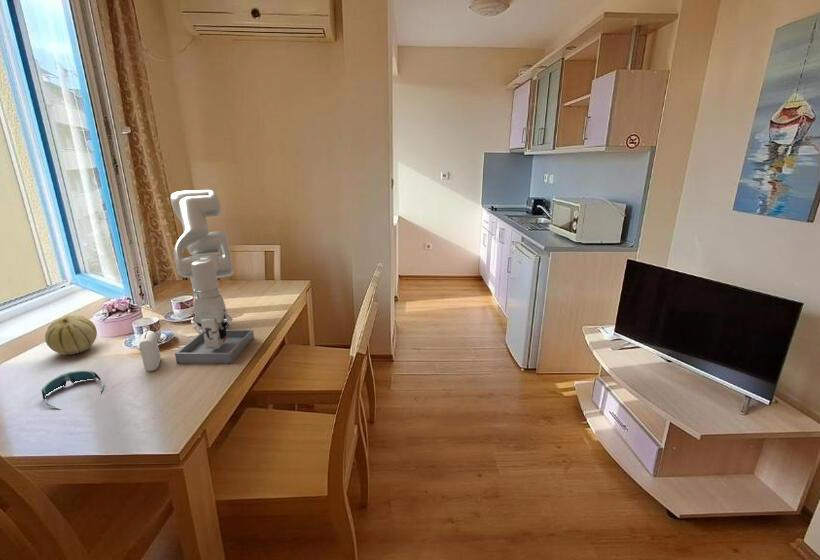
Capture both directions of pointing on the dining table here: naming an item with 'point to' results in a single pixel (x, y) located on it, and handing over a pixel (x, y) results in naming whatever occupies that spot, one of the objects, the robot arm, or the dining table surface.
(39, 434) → the dining table surface
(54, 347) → the cantaloupe
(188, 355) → the tray
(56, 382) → the sunglasses
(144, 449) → the dining table surface
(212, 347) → the ink box
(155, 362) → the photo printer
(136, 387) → the dining table surface
